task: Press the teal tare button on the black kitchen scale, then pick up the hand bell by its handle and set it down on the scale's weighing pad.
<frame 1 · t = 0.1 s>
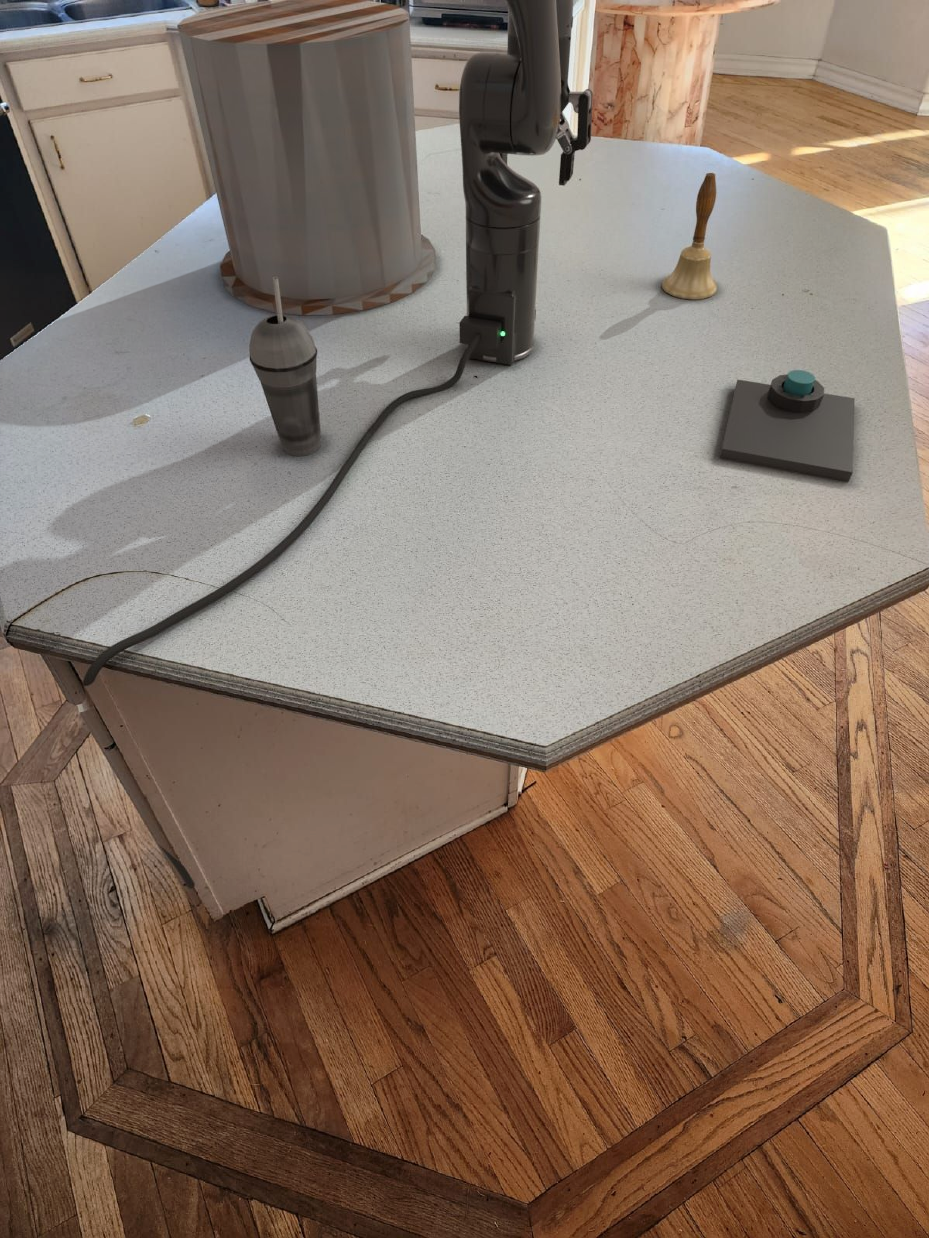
hand: (532, 180, 101), 17 cm above the table, tool pointing down, fingers open, 8 cm apart
tare button: (799, 383, 91), point 4 cm above the table, slide at 0.1 cm
beverage cup: (302, 446, 90), on the table
storage basket: (330, 267, 125), on the table
scale: (787, 432, 90), on the table
hand bell: (688, 289, 117), on the table
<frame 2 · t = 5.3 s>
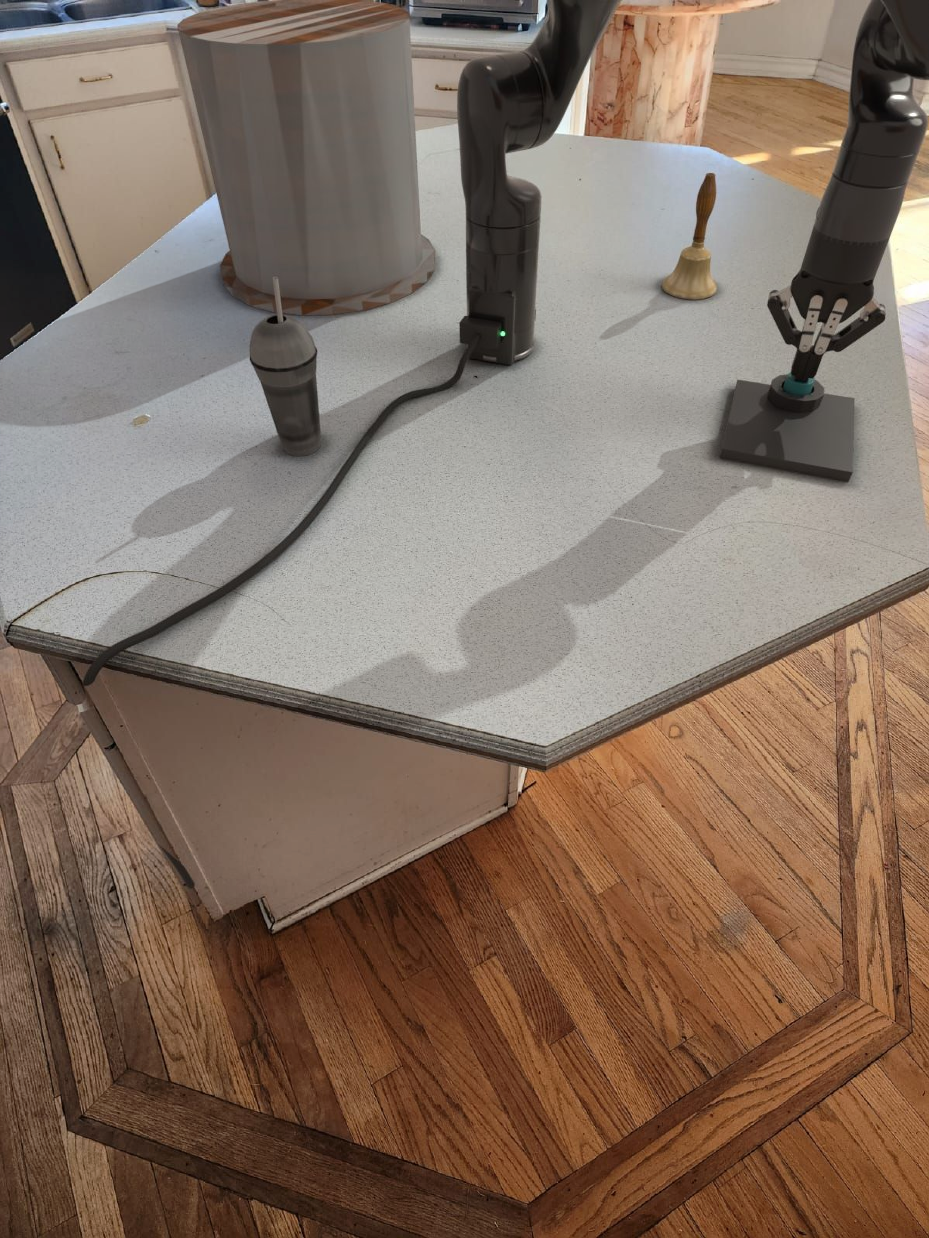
hand: (801, 378, 91), 4 cm above the table, tool pointing down, fingers closed
tare button: (798, 384, 91), point 3 cm above the table, slide at 0.0 cm, touching gripper
everything else where it was.
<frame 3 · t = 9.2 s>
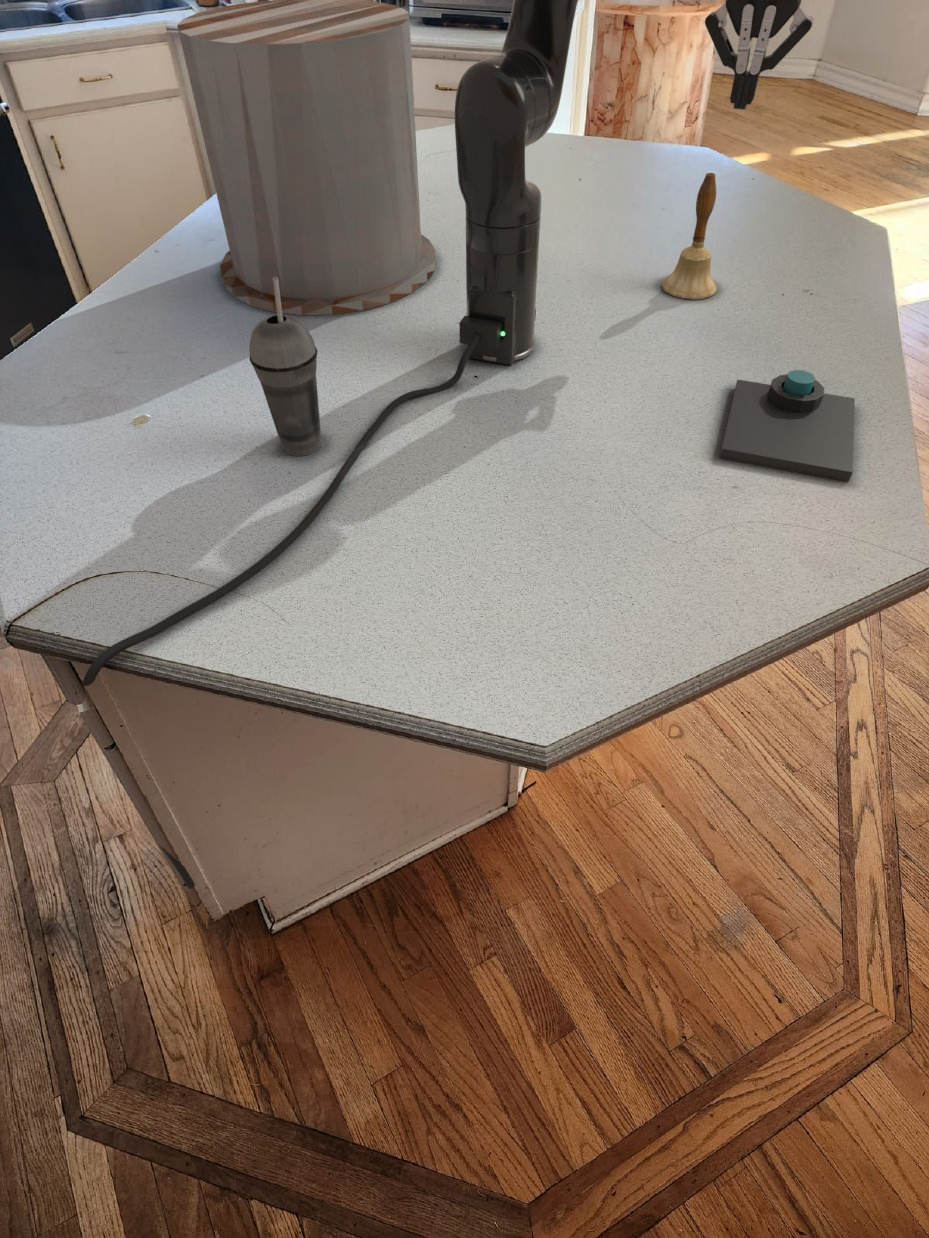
hand: (740, 107, 97), 25 cm above the table, tool pointing down, fingers closed
tare button: (799, 383, 91), point 4 cm above the table, slide at 0.1 cm
everything else where it was.
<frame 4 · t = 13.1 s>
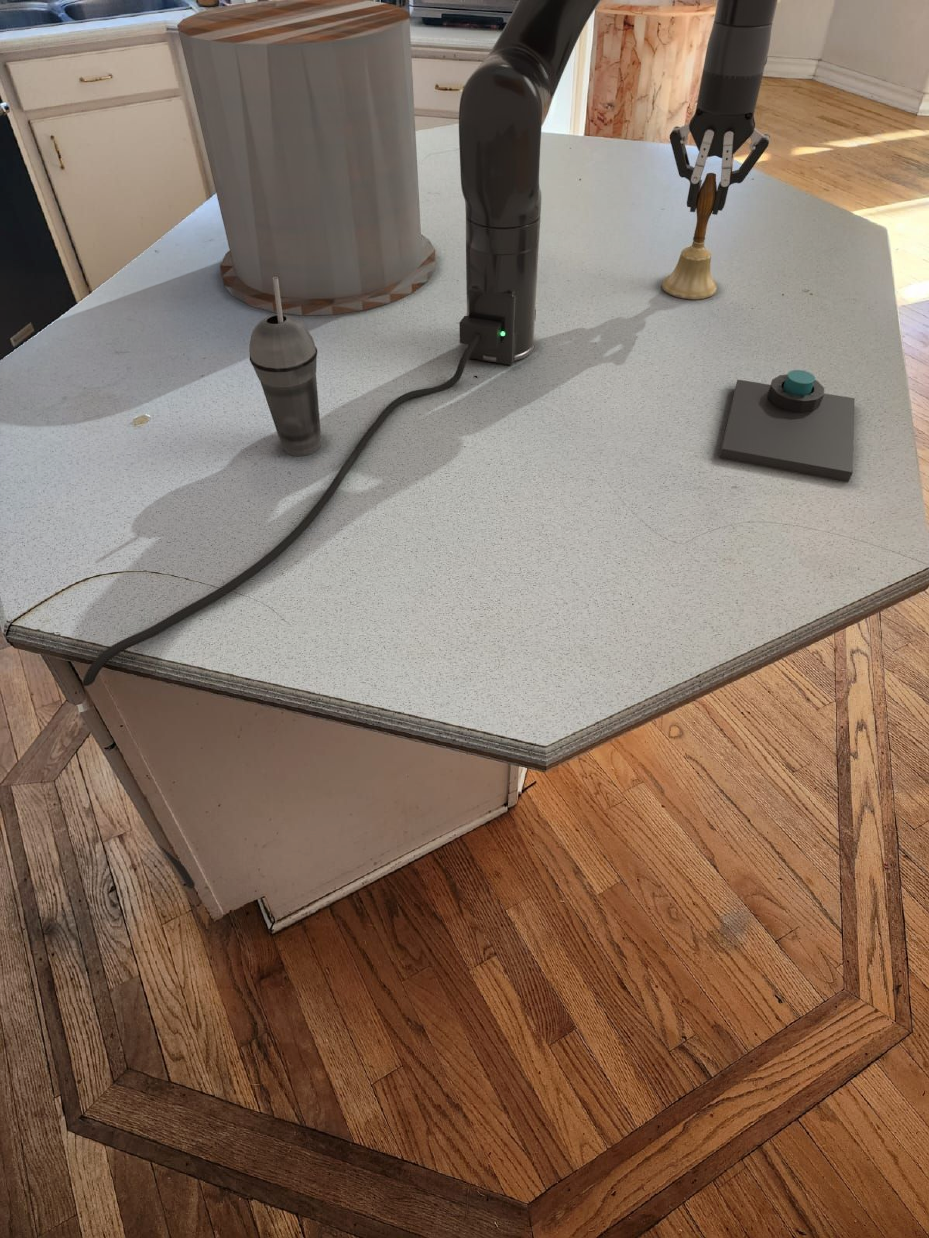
hand: (704, 211, 109), 11 cm above the table, tool pointing down, fingers closed on hand bell, 2 cm apart
hand bell: (688, 289, 117), on the table, touching gripper
everything else where it was.
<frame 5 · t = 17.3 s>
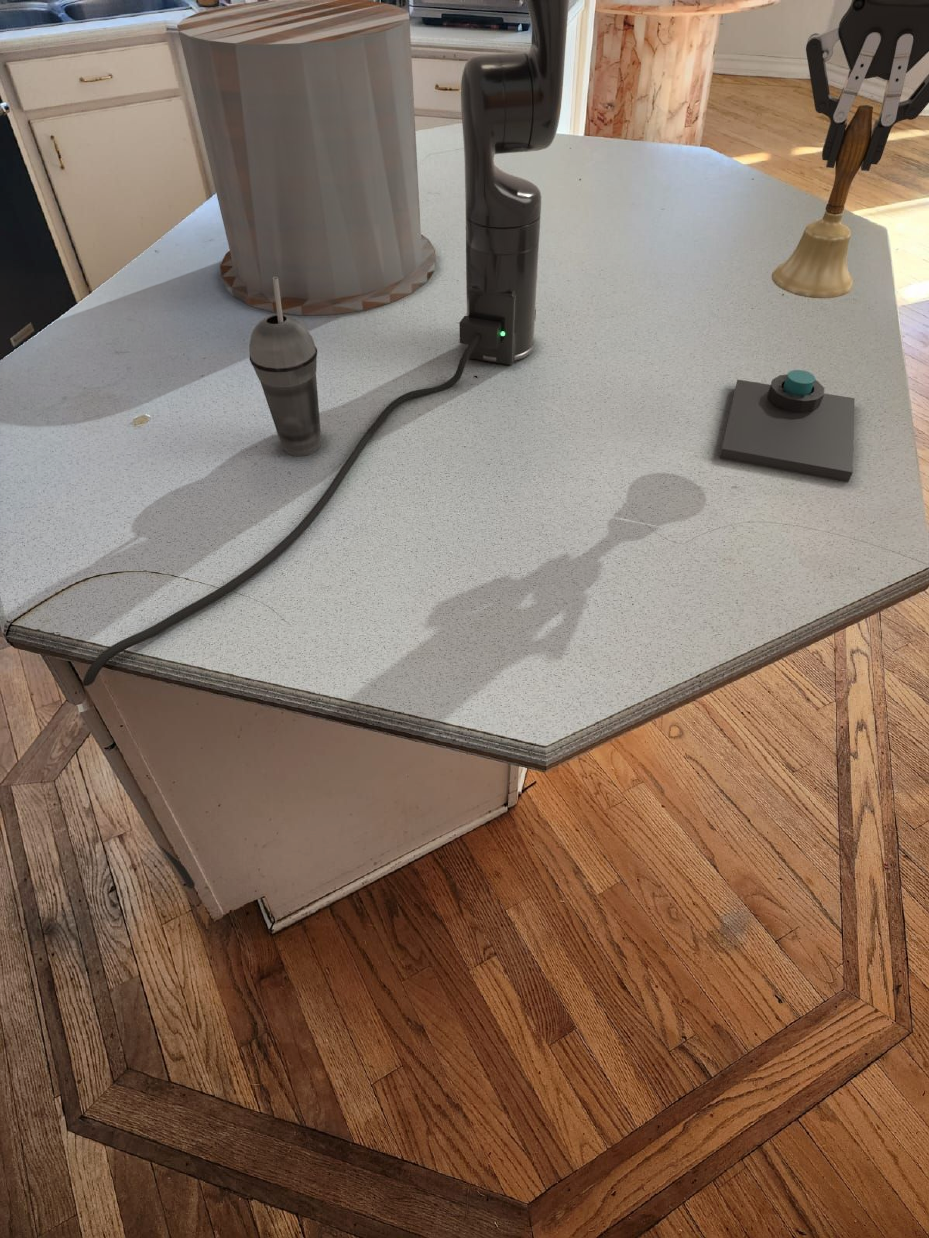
hand: (847, 166, 73), 27 cm above the table, tool pointing down, fingers closed on hand bell, 2 cm apart
hand bell: (810, 284, 81), point 16 cm above the table, touching gripper
everything else where it was.
when the fingers open (12 cm above the table, at t = 21.6 s): hand bell stays where it is, resting on scale.
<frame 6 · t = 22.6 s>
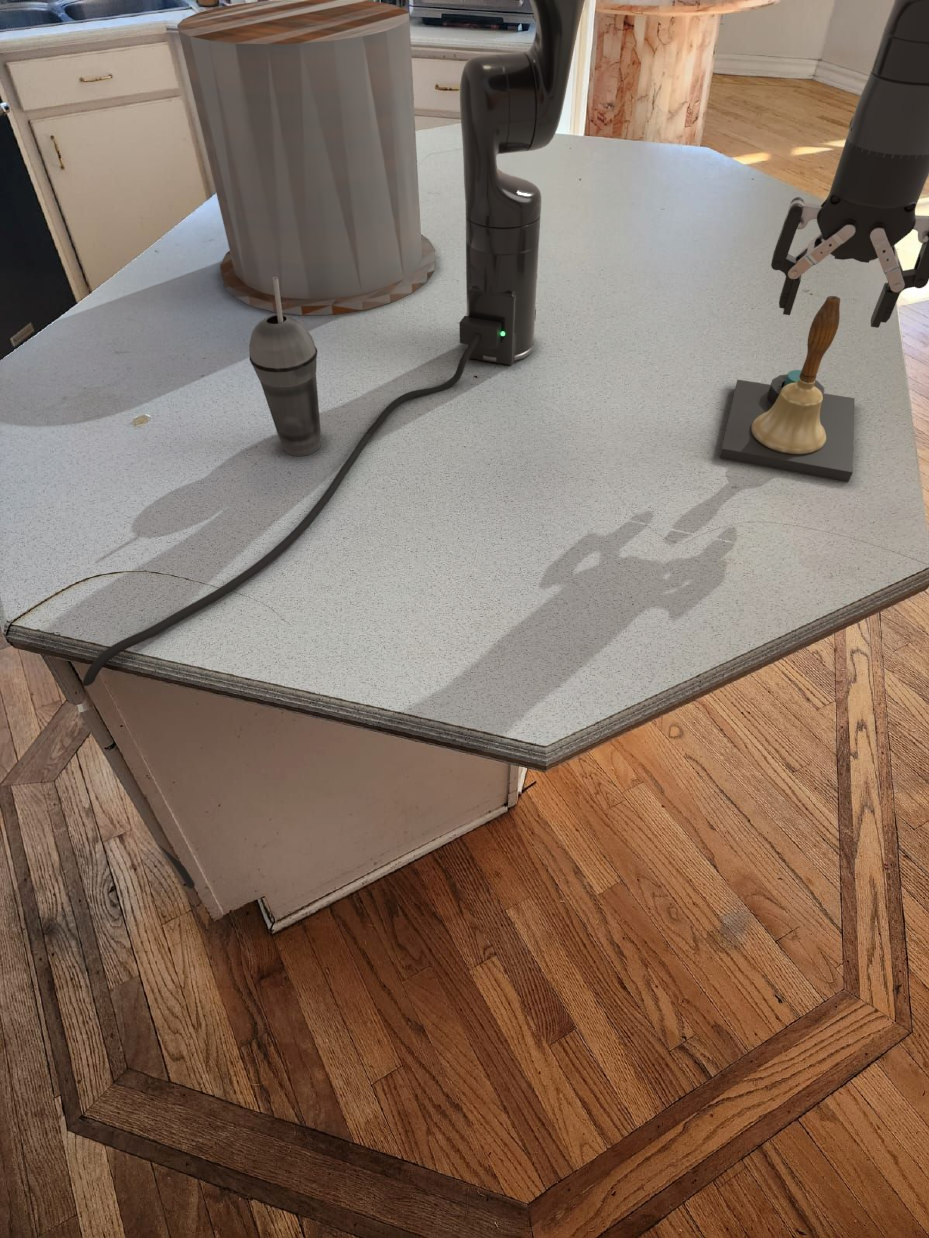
hand: (830, 318, 78), 15 cm above the table, tool pointing down, fingers open, 8 cm apart
hand bell: (787, 435, 88), point 1 cm above the table, touching scale
everything else where it was.
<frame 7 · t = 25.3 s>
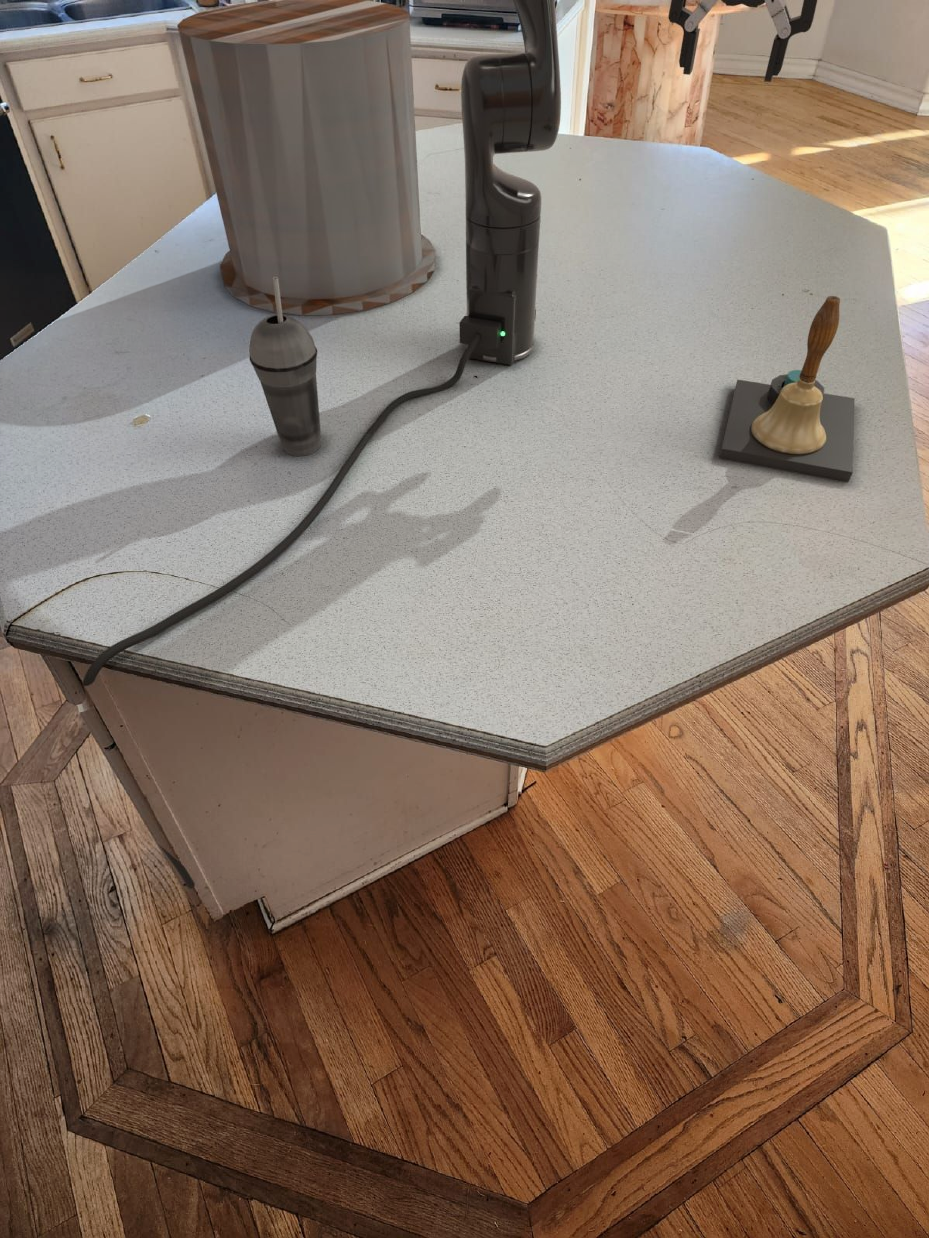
hand: (727, 76, 81), 31 cm above the table, tool pointing down, fingers open, 8 cm apart
nothing on the table moved.
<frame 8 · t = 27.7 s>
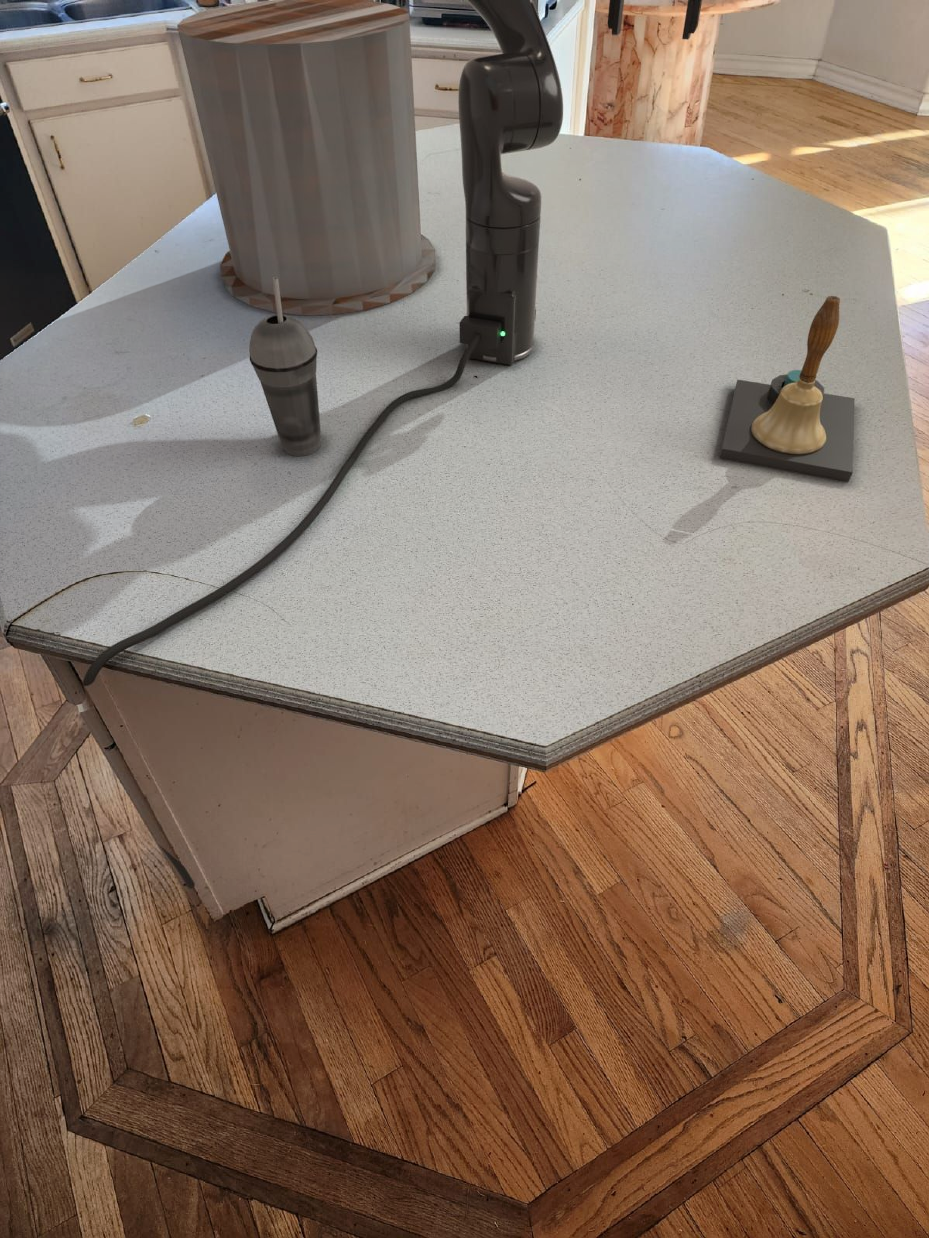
hand: (650, 36, 92), 32 cm above the table, tool pointing down, fingers open, 8 cm apart
nothing on the table moved.
at the end: tare button pushed in 0.9 cm at the most during the clip, back to where it started at the end; hand bell inside the target area on the scale (0.2 cm from its centre), point 1.2 cm above the scale's base; hand bell touching scale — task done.
